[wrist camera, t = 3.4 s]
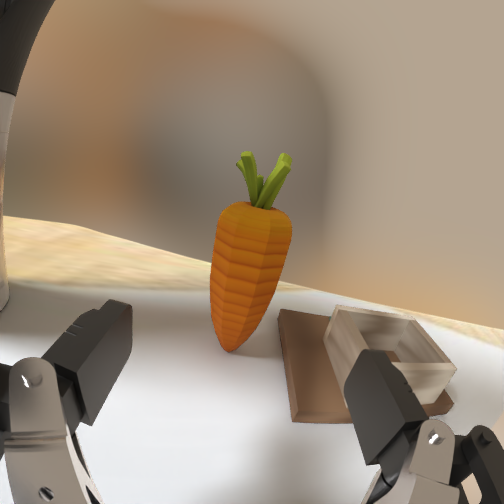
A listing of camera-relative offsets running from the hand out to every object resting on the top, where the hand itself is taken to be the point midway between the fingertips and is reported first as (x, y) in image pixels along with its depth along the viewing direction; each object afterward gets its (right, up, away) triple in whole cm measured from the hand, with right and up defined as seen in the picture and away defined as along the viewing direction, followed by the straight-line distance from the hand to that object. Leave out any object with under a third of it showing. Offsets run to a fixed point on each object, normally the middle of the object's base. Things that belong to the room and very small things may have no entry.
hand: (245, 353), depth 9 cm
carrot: (-2, -5, +12) cm, 13 cm away
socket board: (+10, -7, +13) cm, 17 cm away
